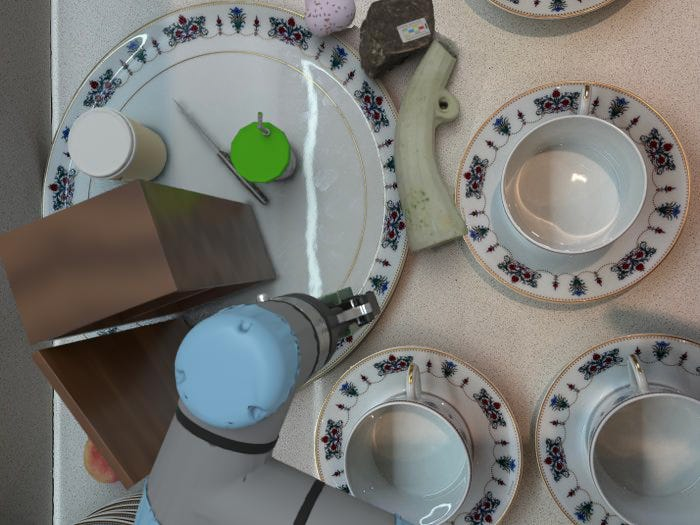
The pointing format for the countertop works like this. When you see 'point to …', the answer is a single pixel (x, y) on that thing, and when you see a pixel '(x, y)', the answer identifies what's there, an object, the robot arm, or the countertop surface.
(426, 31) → the rock
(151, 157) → the coffee cup
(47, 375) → the cupboard door
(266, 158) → the cup
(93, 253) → the cupboard
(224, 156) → the knife
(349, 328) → the green rectangular block
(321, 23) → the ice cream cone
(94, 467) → the fruit
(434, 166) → the pale green curved piece
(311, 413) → the countertop surface
